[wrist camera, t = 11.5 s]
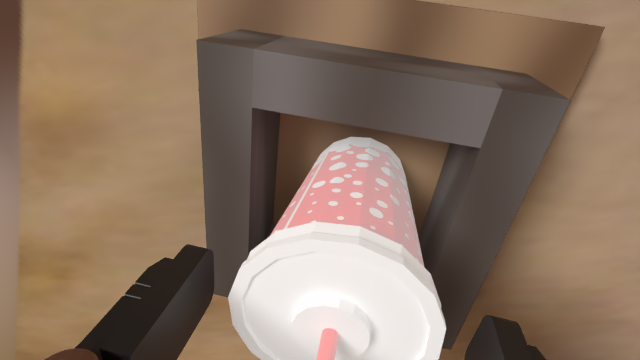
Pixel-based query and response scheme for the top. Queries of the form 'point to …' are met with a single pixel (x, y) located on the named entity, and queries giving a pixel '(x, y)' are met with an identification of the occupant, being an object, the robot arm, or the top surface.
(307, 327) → the beverage cup
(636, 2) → the top surface
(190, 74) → the top surface
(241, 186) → the cup holder
